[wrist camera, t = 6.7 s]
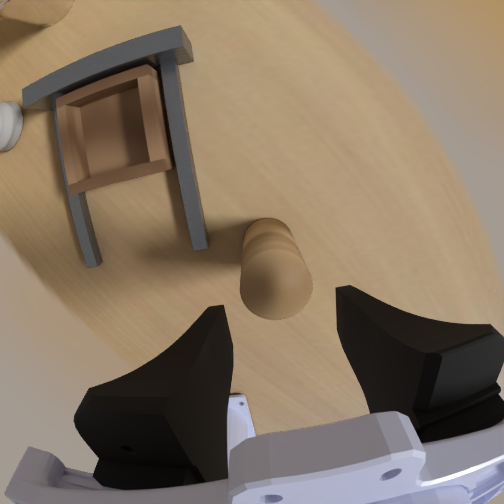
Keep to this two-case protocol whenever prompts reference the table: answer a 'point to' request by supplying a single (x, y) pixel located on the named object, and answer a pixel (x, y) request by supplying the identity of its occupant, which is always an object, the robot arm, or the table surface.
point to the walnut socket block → (114, 130)
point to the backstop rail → (167, 60)
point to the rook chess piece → (10, 124)
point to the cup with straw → (35, 11)
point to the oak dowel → (273, 271)
